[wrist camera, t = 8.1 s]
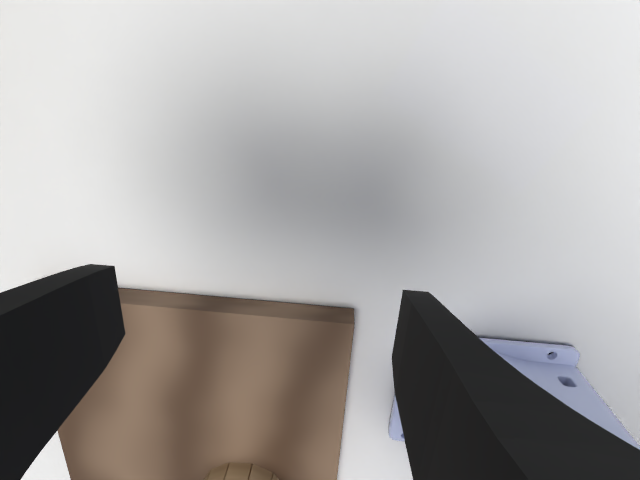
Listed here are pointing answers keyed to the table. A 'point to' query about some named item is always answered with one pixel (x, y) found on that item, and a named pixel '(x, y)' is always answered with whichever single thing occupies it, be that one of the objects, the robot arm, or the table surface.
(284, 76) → the table surface
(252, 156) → the table surface
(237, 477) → the bead
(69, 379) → the robot arm
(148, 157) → the table surface
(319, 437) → the fabric cloth
